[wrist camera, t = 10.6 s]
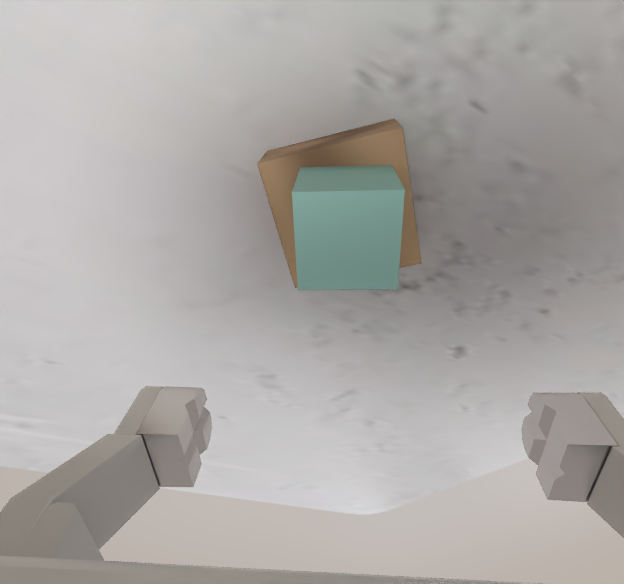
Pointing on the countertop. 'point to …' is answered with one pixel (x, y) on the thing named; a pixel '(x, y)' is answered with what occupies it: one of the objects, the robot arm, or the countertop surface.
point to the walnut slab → (338, 152)
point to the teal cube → (348, 227)
